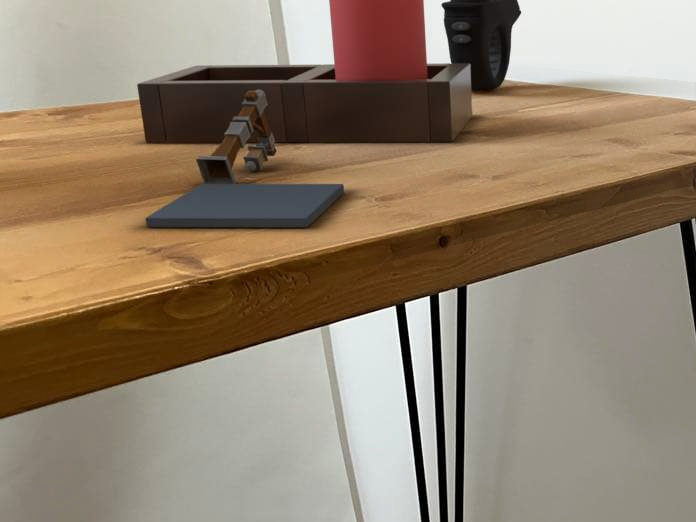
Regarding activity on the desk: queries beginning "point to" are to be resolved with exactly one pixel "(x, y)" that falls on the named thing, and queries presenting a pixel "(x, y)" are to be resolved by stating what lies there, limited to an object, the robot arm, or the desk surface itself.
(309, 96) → the divided wooden tray
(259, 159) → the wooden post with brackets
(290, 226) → the coaster
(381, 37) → the beer can
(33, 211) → the desk surface
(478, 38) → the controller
